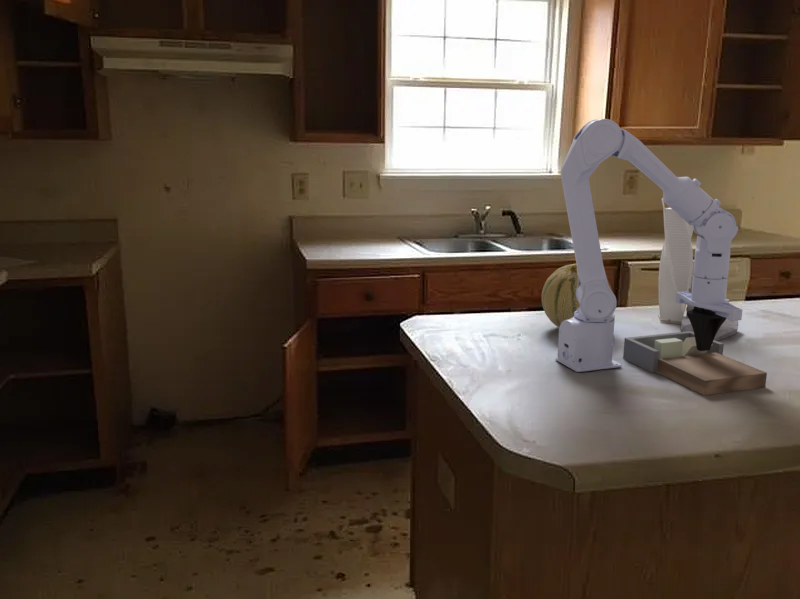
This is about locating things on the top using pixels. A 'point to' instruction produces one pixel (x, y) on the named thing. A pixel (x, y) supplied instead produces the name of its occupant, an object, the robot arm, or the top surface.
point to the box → (647, 356)
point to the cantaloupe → (561, 294)
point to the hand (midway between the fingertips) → (703, 349)
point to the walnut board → (711, 373)
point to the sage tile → (669, 347)
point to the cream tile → (691, 347)
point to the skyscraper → (675, 267)
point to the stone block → (724, 331)
